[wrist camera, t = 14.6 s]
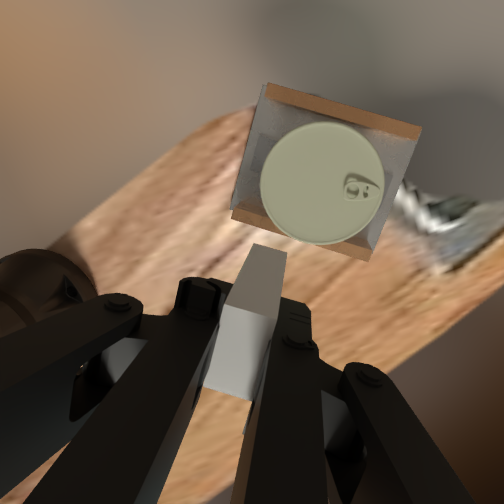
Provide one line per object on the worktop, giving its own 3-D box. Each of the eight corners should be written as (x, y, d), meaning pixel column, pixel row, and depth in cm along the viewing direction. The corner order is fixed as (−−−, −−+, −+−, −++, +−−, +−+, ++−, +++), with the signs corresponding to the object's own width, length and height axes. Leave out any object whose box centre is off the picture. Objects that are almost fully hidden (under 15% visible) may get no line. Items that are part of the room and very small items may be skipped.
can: (357, 222, 41) (375, 254, 29) (269, 212, 42) (253, 240, 30) (372, 129, 38) (398, 125, 27) (278, 121, 39) (263, 114, 28)
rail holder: (231, 207, 44) (221, 216, 39) (264, 85, 40) (257, 78, 35) (370, 251, 43) (378, 265, 38) (418, 131, 39) (433, 129, 34)
